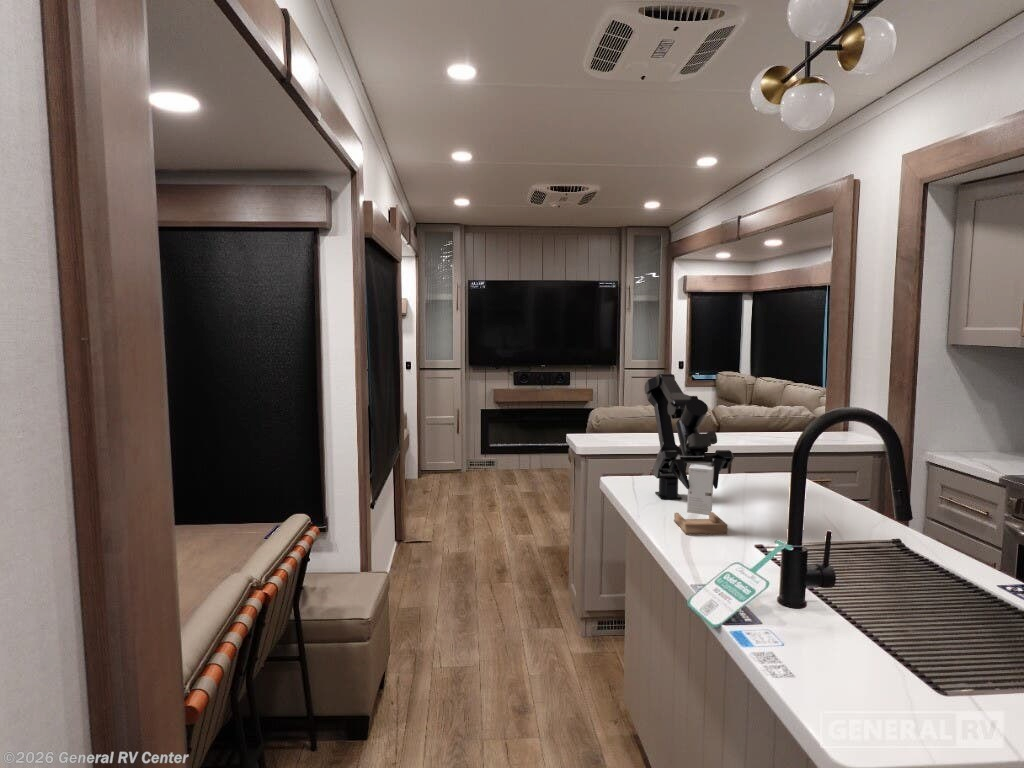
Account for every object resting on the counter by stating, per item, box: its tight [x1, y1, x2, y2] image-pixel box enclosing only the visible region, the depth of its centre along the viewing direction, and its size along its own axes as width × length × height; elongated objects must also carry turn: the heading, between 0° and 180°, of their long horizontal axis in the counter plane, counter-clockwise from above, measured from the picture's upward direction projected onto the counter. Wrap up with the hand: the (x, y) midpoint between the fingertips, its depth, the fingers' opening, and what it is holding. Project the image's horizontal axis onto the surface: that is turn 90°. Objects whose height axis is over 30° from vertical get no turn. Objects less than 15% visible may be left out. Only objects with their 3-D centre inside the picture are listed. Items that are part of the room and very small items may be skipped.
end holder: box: [673, 511, 728, 536], centre depth 154 cm, size 10×10×2 cm
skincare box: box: [686, 463, 714, 516], centre depth 153 cm, size 6×4×12 cm
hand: (702, 488), depth 152 cm, fingers closed on skincare box, 7 cm apart
